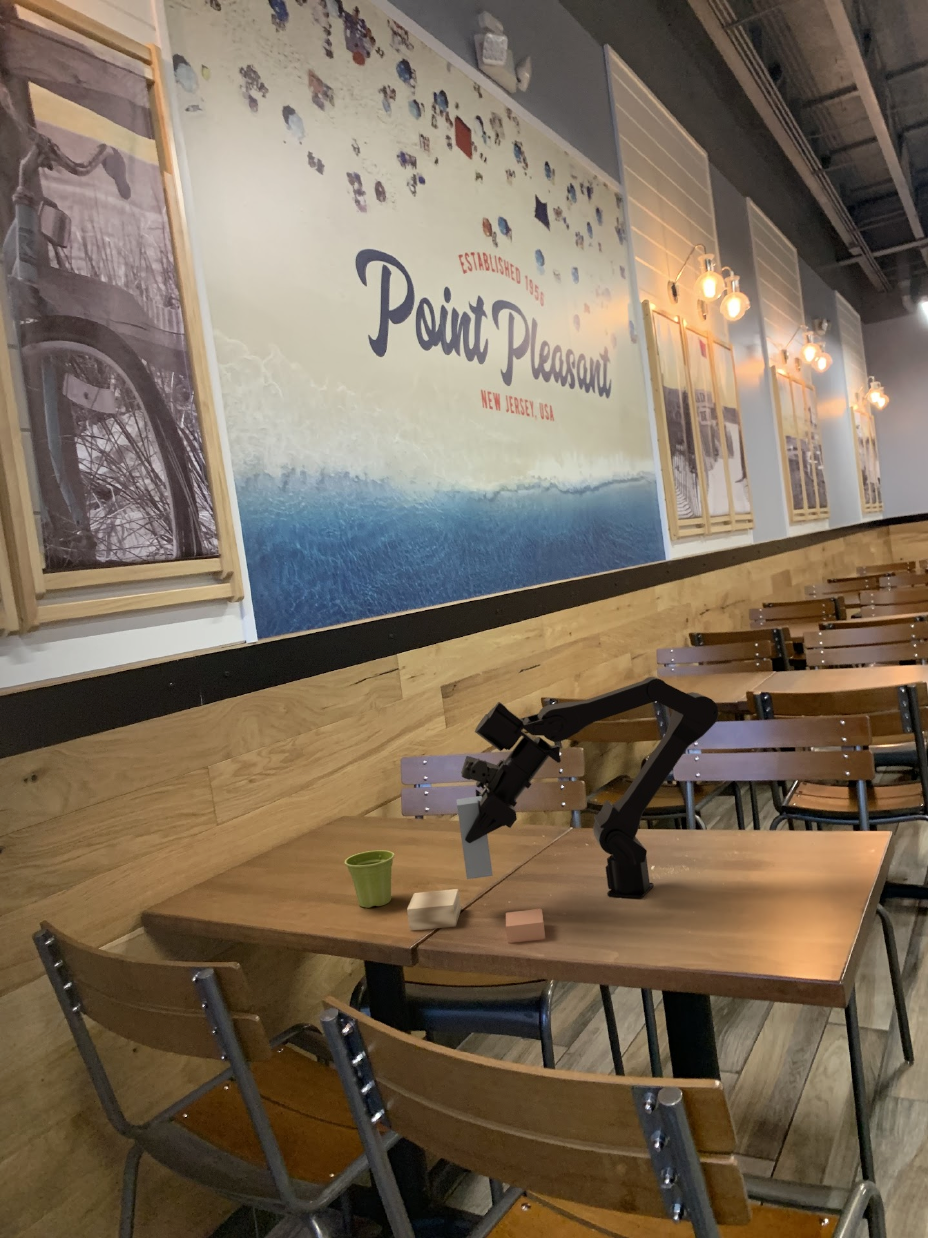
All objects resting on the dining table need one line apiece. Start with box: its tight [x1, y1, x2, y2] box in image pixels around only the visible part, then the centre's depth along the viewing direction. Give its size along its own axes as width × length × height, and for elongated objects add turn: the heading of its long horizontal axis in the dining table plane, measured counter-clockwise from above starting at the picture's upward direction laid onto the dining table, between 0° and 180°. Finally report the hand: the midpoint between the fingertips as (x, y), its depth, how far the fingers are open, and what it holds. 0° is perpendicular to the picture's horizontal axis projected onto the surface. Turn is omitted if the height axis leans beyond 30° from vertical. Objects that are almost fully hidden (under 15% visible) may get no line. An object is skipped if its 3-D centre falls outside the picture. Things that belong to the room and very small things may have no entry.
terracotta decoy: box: [505, 908, 546, 944], centre depth 150 cm, size 6×6×3 cm
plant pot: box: [344, 849, 395, 909], centre depth 175 cm, size 9×9×9 cm
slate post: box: [456, 796, 494, 880], centre depth 162 cm, size 4×4×13 cm
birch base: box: [406, 888, 462, 932], centre depth 162 cm, size 8×8×4 cm
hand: (466, 837), depth 162 cm, fingers closed on slate post, 4 cm apart
